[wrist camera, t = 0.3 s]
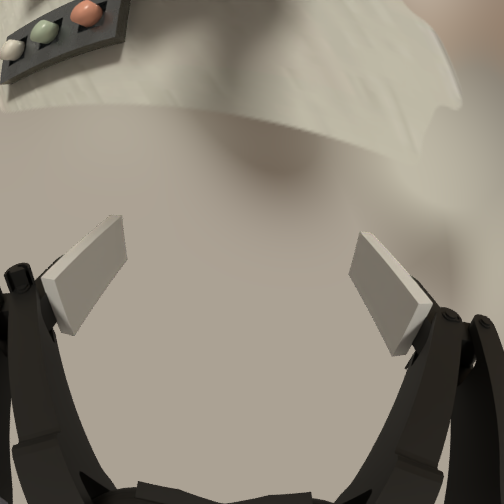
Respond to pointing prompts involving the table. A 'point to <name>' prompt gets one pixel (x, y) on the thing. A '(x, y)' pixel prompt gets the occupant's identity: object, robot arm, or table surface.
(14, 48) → the white glossy ball
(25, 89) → the table surface
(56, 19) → the panel
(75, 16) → the coral button
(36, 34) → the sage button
